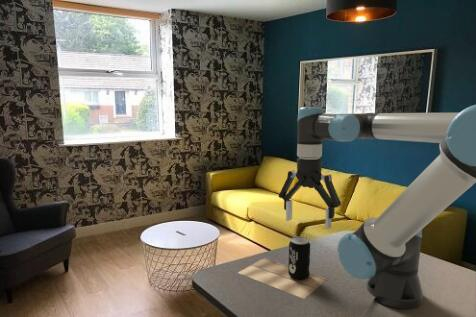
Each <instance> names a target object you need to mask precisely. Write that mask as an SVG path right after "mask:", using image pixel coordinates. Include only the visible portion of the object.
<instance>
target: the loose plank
mask: <svg viewBox="0 0 476 317" xmlns="http://www.w3.org/2000/svg"><path fill="white" fill-rule="evenodd" d="M251 265H252V266H254V267H257V268H260V269H263V270H265V271H268V272H271V273H274V274H276V275H279V276H282V277H284V278H287V279H290V280H293V281H295V282H298V283H301V284H304V285H306V286H309V287H312V288H314V289H316V290H317V289H318V288H319V287H321V286H322V284H324V283H325V282H326V281H327V280H328V279H327V278H324V277H321V276H318V275H315V274H312V273H309V276H308V277H307V278H306V279H304V280H297V279H293V278H292V277H291V276H290V275H289V273H288V267H289V265H285V264H283V263H281V262H277V261H274V260H271V259H269V258H266V257H262V258H261V259H259V260H258V261H256V262H254V263H252V264H251Z"/></svg>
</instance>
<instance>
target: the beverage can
mask: <svg viewBox="0 0 476 317" xmlns="http://www.w3.org/2000/svg"><path fill="white" fill-rule="evenodd" d="M288 266H289V267H288V273H289V275H290V276H291V277H292V278H293V279H297V280H304V279H306V278H307V277H308V276H309V273H310V271H311V270H310V268H311V267H310V266H311V243H310V240H309V238H308V237H305V236H302V235H301V236H300V235H299V236H292V237H291V238H290V241H289V243H288ZM310 274H311V273H310Z"/></svg>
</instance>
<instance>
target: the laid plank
mask: <svg viewBox="0 0 476 317" xmlns="http://www.w3.org/2000/svg"><path fill="white" fill-rule="evenodd" d="M237 274H240V275H242V276H245V277H247V278H249V279H252V280H255V281H257V282H260V283H263V284H265V285H268V286H270V287H272V288H276V289H278V290H281V291H283V292H285V293H288V294H289V295H293V296H296V297H297V298H300V299H303V300H305V299H307V297H309V296H310V295H311V294H312V293H314V292H315V291H316V290H317V289H316V288H313V287H310V286H307V285H305V284H302V283H299V282H296V281H294V280H291V279H288V278H286V277H283V276H280V275H277V274H275V273H272V272H269V271H266V270H264V269H261V268H258V267H255V266H253V265H252V264H251V265H249V266H247V267H245V268H244V269H242V270H240V271H238V272H237Z"/></svg>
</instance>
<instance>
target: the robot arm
mask: <svg viewBox="0 0 476 317" xmlns="http://www.w3.org/2000/svg"><path fill="white" fill-rule="evenodd" d="M297 111H298V113H297V120H296V121H297V143H296V144H297V145H296V146H297V148H296V156H297V157H298V158H296V170H297V171H295V170H294V169H293V170H288V172H287V176H286V180H285V182H284V184H283V186H282V188H281V190H280V191H279V194H278V198H280V199H282V200H283V209H284V210H285V222H289V221H291V220H293V199H292V197H293V196H294V195H295V194H296V193H297V192H298V191H299V190H300V188H301V187H302V188H310V189H314V190H315V191H317V193H318V195H320V197H321V199H322V200H323V201H324V203H325V205H326V206H327V207H326V208H325V218H324V219H325V224H324V226H325V229H324V230H329V229H331V228H332V219H334V218H335V210H336V208H338V207H340V206H341V205H342V202H341V200H340V198H339V196H338V193H337V191H336V188H335V186H334V184H333V180H332V178H333V177H332V174H325V175H324V174H322V169H323V168H322V166H323V165H322V164H323V159H322V158H321V157H323V140H328V141H335V142H340V143H342V142H345V143H346V142H348V143H349V142H352V141H354V140H358V139H359V140H360V139H365V140H367V139H369V140H387V141H403V142H404V141H405V142H420V143H433V144H436V143H437V144H439V155H438V156H437V157H436V158H435V159H434V160H433V161H432V162H431V163H430V164H429V165H428V166H427V167H425V169H424V170H423V171H422V172H421V173H420V174H419V175H418V176H417V177H416V178H415V179H414V180H413V181H412V182H411V183H410V184H409V185H408V186H407V187H406V188H405V189H403V191H402V192H401V193H400V194H399V195H398V196H397V198H395V199H394V200H393V201H392V202H391V204H389V205H388V206H387V207H386V209H384V210H383V212H381V213H380V215H379V216H377V217H374V216H373V217H369V218H367V219H365V221H364V222H362V224H361V225H360V226H359V227H358V228H357V229H356V230H354V231H353V232H351V233H347V234H345V235H344V236H342V237H341V238H340V239H339V240H338V244H337V254H338V259H339V262H340V264H341V265H342V267H343V268H344V270H345V271H346V272H347V273H348V274H349V275H350V276H352V277H353V278H356V279H358V280H367V281H366V289H367V292H369V294H370V295H371V296H373V297H374V299H373V300H374V301H375V302H378V303H380V304H382V305H384V306H387V307H390V308H395V309H404V310H405V309H406V310H407V309H408V310H410V309H416V308H417V307H419V306H421V305H422V303H423V298H424V292H423V289H422V284H421V280H420V276H419V266H420V259H421V258H420V256H421V248H422V247H421V246H422V239H423V234H422V233H423V229H424V228H425V227H426V226H427V225H429V224H430V223H431V222H432V221H433V220H434V219H435V218H436V217H437V216H439V215H440V214H441V213H442V212H444V210H446V209H447V208H448V207H449V206H451V204H453V203H454V202H455V201H456V200H458V199H459V197H461V196H462V195H463V194H464V193H466V191H467V190H469V189H470V188H471V187H472V186H473V185H475V184H476V104H474V105H471V106H468V107H466V108H464V109H463V110H461V111H460V112H390V113H388V112H385V113H384V112H379V113H378V112H365V113H364V112H363V113H324V109H323V107H321V106H311V107H310V106H302V107H299V108H298V110H297ZM295 178H296V179H297V181H296V183H295V184H294V185H293V186H292V187H291V185H292V184H293V181H294V180H295ZM321 181H323V182H324V184H322V182H321ZM324 186H325V187H324ZM290 188H291V189H290ZM326 190H327V191H326Z"/></svg>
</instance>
